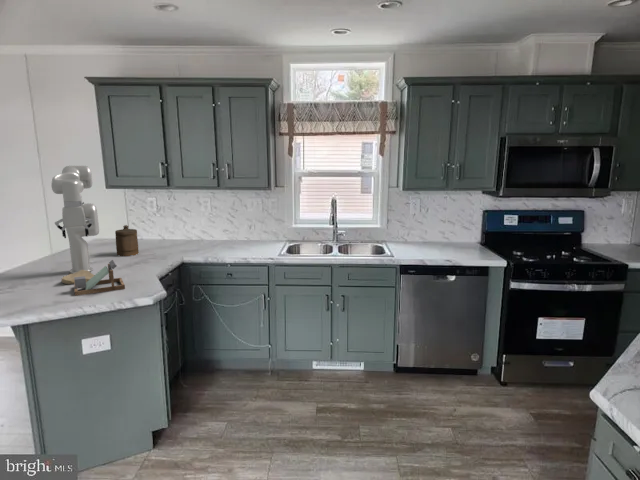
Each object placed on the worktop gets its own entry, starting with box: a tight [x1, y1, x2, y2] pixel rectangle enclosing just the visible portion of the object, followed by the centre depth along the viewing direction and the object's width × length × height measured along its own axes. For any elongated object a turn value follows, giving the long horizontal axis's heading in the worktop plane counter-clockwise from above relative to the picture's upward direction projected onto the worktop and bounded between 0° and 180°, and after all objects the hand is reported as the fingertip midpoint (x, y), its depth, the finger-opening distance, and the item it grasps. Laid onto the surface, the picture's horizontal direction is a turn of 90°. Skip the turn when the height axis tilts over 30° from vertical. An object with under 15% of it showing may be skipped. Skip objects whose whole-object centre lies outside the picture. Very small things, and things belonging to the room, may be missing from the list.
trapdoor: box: [84, 259, 118, 290], centre depth 216 cm, size 14×19×2 cm
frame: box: [73, 263, 126, 297], centre depth 216 cm, size 17×23×11 cm
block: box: [74, 276, 86, 290], centre depth 212 cm, size 5×5×5 cm
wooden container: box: [115, 224, 140, 257], centre depth 296 cm, size 15×15×22 cm
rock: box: [61, 270, 95, 285], centre depth 230 cm, size 18×15×4 cm
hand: (76, 237), depth 210 cm, fingers open, 9 cm apart
